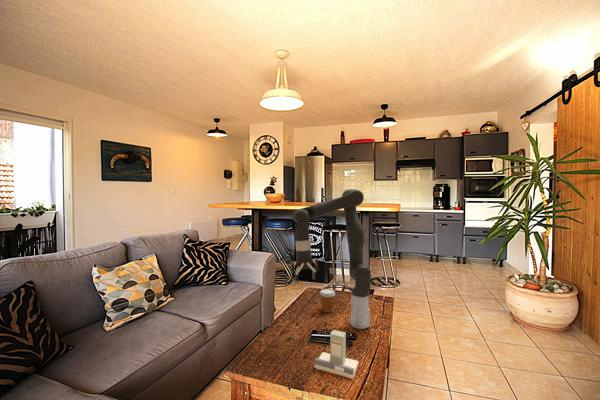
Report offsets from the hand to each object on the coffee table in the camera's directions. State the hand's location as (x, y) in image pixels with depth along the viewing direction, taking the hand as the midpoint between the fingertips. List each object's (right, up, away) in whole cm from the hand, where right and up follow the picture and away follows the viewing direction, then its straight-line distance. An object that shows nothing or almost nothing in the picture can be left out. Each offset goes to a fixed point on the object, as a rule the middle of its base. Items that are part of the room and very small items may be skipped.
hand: (305, 280), depth 140 cm
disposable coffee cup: (+14, -28, +32) cm, 44 cm away
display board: (+12, -29, -25) cm, 40 cm away
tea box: (+13, -27, -24) cm, 38 cm away
